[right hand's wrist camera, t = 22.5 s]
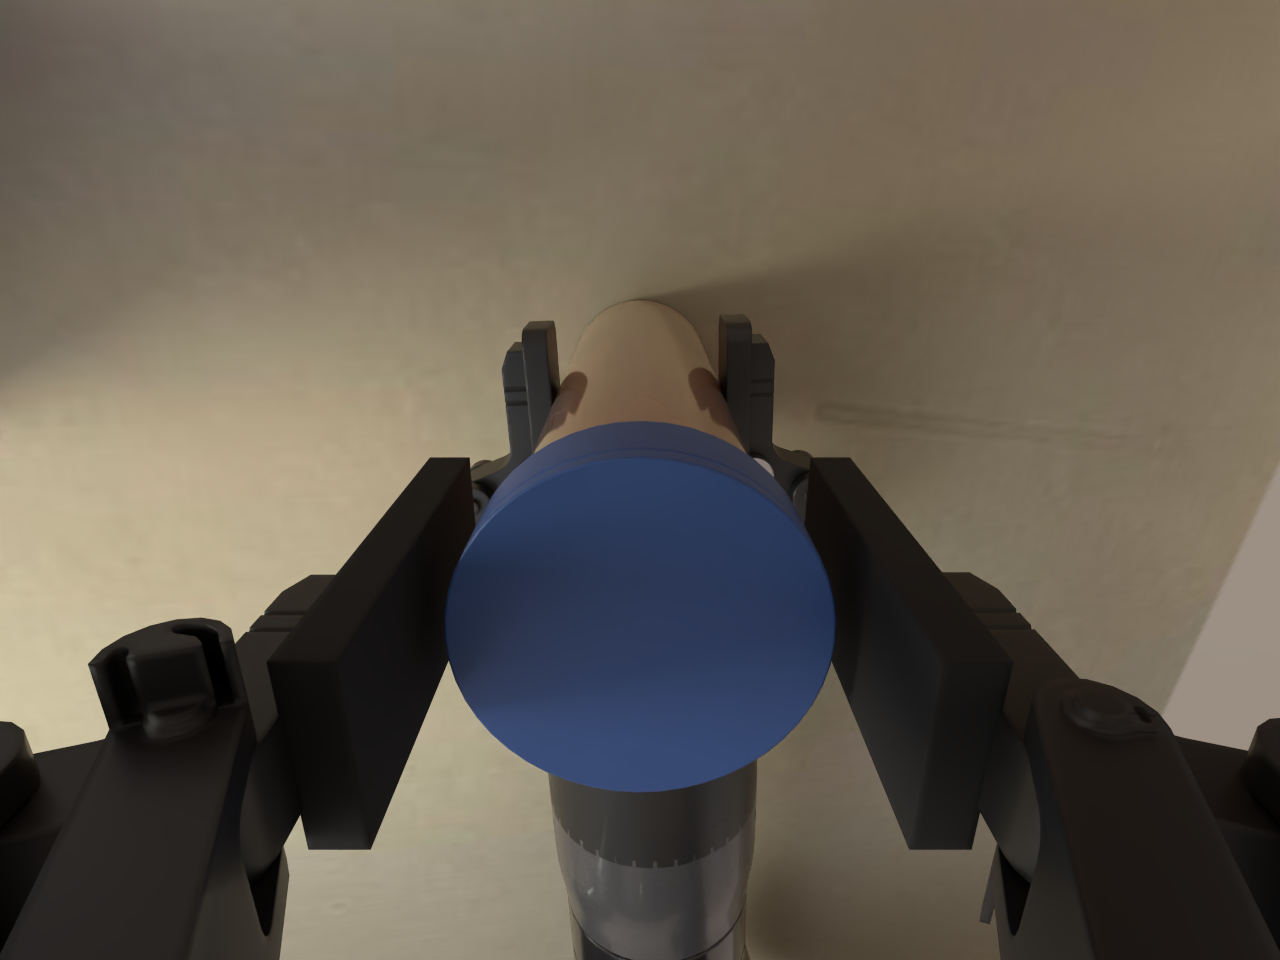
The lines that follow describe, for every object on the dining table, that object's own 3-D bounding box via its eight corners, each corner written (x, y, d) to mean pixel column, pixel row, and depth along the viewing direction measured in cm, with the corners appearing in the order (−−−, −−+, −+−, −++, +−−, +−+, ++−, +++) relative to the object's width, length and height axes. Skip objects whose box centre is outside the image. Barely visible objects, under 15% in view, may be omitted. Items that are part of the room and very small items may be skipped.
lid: (849, 663, 13) (880, 730, 11) (553, 757, 13) (542, 832, 12) (748, 365, 11) (767, 394, 9) (408, 493, 11) (371, 541, 10)
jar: (693, 287, 26) (776, 430, 10) (714, 415, 28) (814, 709, 12) (561, 314, 27) (442, 493, 11) (590, 439, 28) (526, 755, 12)
